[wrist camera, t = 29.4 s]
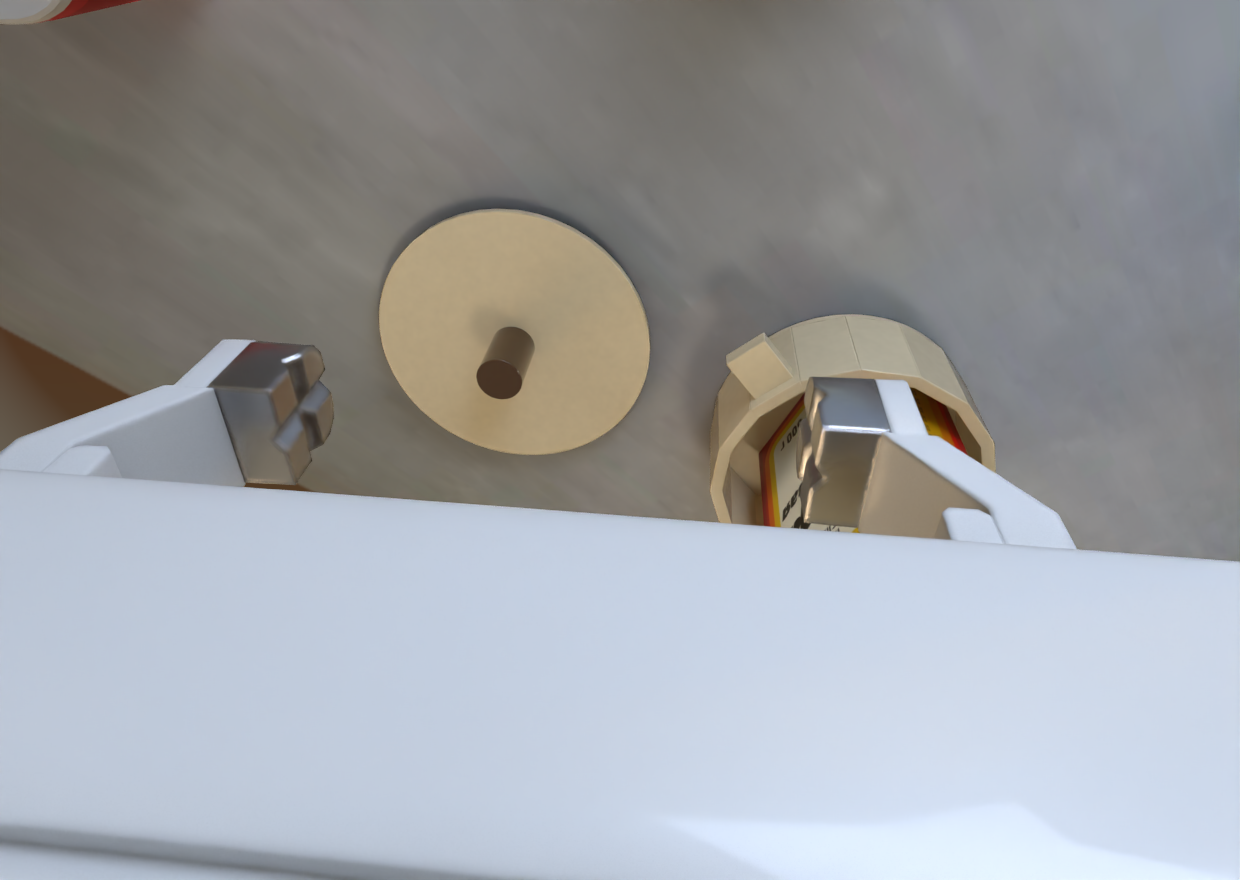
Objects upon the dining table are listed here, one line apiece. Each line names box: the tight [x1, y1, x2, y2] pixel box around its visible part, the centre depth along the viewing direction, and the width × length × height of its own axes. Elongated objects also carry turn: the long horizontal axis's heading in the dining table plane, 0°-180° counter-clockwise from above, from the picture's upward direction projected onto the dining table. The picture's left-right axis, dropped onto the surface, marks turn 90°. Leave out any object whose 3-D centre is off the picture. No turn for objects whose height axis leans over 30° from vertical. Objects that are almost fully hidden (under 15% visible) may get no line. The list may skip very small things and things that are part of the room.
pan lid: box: [379, 209, 650, 455], centre depth 46 cm, size 16×16×5 cm
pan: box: [710, 314, 996, 526], centre depth 47 cm, size 15×21×6 cm
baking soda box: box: [758, 388, 968, 533], centre depth 42 cm, size 10×6×16 cm
